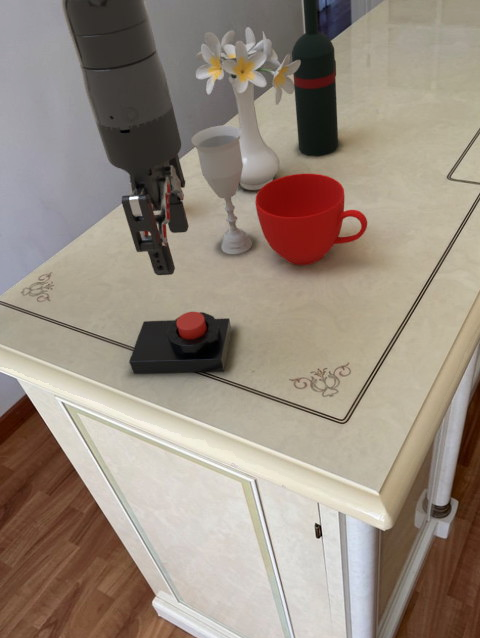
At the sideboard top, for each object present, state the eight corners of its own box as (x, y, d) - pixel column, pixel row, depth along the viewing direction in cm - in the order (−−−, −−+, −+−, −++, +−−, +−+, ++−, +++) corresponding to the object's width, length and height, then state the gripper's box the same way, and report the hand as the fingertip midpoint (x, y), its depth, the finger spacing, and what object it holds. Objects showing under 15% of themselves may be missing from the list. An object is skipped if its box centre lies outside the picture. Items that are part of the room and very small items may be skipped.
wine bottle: (350, 137, 119) (346, -40, 98) (326, 158, 114) (317, -24, 93) (316, 132, 123) (306, -40, 102) (291, 153, 117) (275, -25, 96)
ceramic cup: (348, 291, 84) (346, 230, 77) (248, 267, 91) (238, 208, 84) (383, 244, 91) (384, 184, 84) (288, 224, 98) (282, 167, 91)
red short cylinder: (176, 340, 75) (173, 330, 73) (182, 322, 77) (179, 311, 76) (204, 339, 74) (201, 329, 73) (208, 321, 77) (206, 310, 75)
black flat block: (133, 373, 76) (124, 351, 74) (147, 333, 82) (139, 310, 79) (224, 371, 75) (218, 348, 72) (232, 330, 80) (227, 307, 78)
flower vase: (291, 205, 102) (276, 49, 85) (201, 193, 109) (169, 46, 92) (319, 171, 110) (310, 21, 93) (233, 161, 117) (210, 20, 99)
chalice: (241, 228, 99) (222, 121, 86) (267, 242, 95) (251, 132, 82) (206, 247, 96) (181, 139, 83) (231, 263, 92) (210, 152, 79)
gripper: (114, 83, 62) (154, 220, 73) (71, 142, 52) (126, 290, 63) (184, 77, 61) (214, 216, 72) (154, 135, 51) (194, 287, 62)
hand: (173, 251), depth 67 cm, fingers open, 8 cm apart
